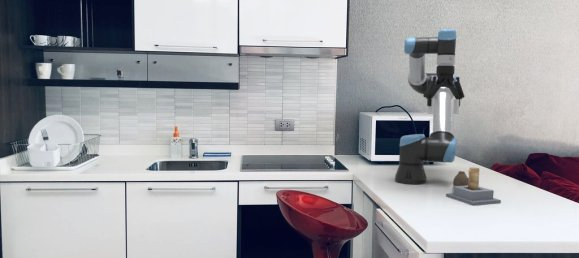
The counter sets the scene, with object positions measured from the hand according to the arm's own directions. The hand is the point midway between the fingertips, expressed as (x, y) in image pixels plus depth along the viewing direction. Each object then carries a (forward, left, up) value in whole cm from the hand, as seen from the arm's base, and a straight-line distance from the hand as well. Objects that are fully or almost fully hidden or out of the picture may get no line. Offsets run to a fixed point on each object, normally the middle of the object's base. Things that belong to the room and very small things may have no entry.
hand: (443, 113), depth 198 cm
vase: (+2, +10, -35) cm, 36 cm away
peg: (+17, +3, -34) cm, 38 cm away
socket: (+17, +3, -35) cm, 39 cm away
